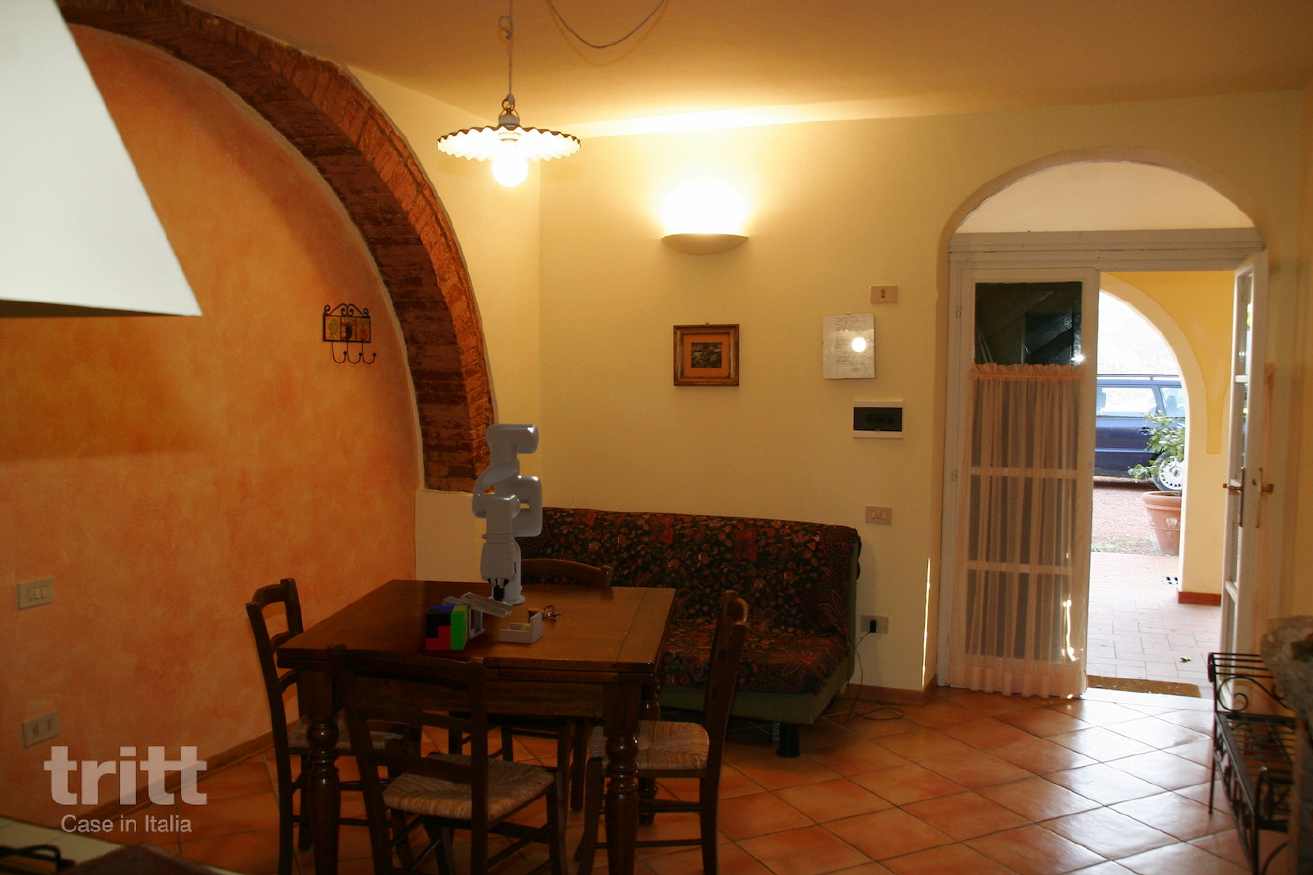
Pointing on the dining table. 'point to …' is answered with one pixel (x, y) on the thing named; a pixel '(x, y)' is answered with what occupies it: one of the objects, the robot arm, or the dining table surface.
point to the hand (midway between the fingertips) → (498, 600)
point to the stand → (477, 622)
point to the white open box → (523, 636)
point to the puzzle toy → (446, 628)
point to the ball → (525, 627)
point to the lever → (481, 604)
